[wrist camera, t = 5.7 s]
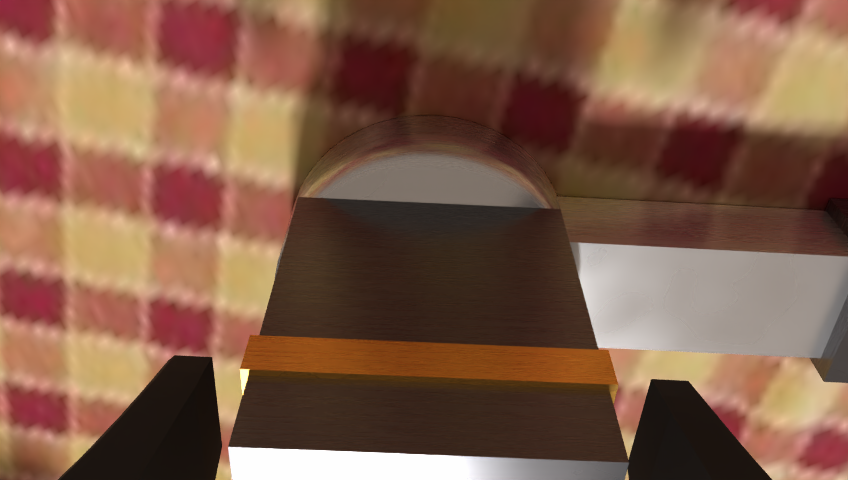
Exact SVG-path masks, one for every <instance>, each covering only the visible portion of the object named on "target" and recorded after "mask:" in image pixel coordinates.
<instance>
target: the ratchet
mask: <svg viewBox="0 0 848 480" xmlns="http://www.w3.org/2000/svg"><path fill="white" fill-rule="evenodd" d="M298 197H312V198H334V199H356V200H377V201H399V202H421V203H443V204H464V205H486V206H508V207H530V208H552V209H561V212H562V216H563V220H564V223H565V227H566V231H567V234H568V238H569V242H570V246H571V249H572V253H573V257H574V260H575V264H576V268H577V272H578V275H579V279H580V283H581V286H582V290H583V294H584V297H585V301H586V305H587V309H588V312H589V316H590V320H591V323H592V327H593V331H594V334H595V338H596V342H597V346H598V348H619V349H639V350H660V351H681V352H701V353H722V354H743V355H764V356H784V357H805V358H810V359H811V361H812V363H813V364H814V366H815V368H816V369H817V371H818V373H819V374H820V376H821V378H822V380H823V381H824V382H842V383H848V199H831V198H830V200H829V203H828V205H827V208H826V211H825V210H806V209H787V208H768V207H749V206H730V205H712V204H693V203H674V202H655V201H636V200H617V199H599V198H580V197H561V196H557V195H556V192H555V190H554V187H553V186H552V184H551V182H550V180H549V179H548V177H547V175H546V173H545V172H544V171H543V170H542V168H541V167H540V166H539V165H538V163H537V162H536V161H535V160H534V159H533V158H532V157H531V156H530V155H529V154H528V153H527V152H526V151H525V150H524V149H523V148H521V147H520V146H519V145H517V144H516V143H514V142H513V141H512V140H510V139H509V138H507V137H505V136H504V135H502V134H500V133H498V132H496V131H494V130H492V129H490V128H487V127H485V126H482V125H479V124H477V123H474V122H470V121H466V120H462V119H458V118H452V117H444V116H410V117H402V118H395V119H391V120H388V121H384V122H380V123H377V124H374V125H372V126H369V127H366V128H364V129H361V130H359V131H358V132H356V133H354V134H352V135H350V136H348V137H347V138H345V139H343V140H342V141H341V142H339V143H338V144H337V145H335V146H334V147H333V148H331V149H330V150H329V151H328V152H327V153H326V154H325V155H324V156H323V157H322V158H321V159H320V160H319V161H318V162H317V163H316V164H315V166H314V167H313V168H312V170H311V171H310V172H309V174H308V175H307V177H306V178H305V180H304V182H303V184H302V186H301V188H300V190H299V192H298V195H297V198H296V201H295V203H294V207H293V210H292V214H291V217H290V221H289V224H288V228H287V231H286V235H285V238H284V242H283V245H282V249H281V253H280V256H279V260H278V264H277V269H276V274H277V270H278V267H279V263H280V260H281V256H282V252H283V249H284V245H285V242H286V238H287V235H288V231H289V227H290V224H291V220H292V217H293V213H294V210H295V206H296V202H297V199H298ZM276 274H275V278H276Z"/></svg>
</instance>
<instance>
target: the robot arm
mask: <svg viewBox="0 0 848 480" xmlns="http://www.w3.org/2000/svg"><path fill="white" fill-rule="evenodd" d="M221 449H222V441H221V432H220V423H219V414H218V405H217V397H216V388H215V379H214V370H213V361H212V357H196V356H176V355H175V356H173V357H172V358H171V359H170V360H168V361H167V363H166V364H165V365H164V366H163V367H162V369H161V370H160V371H159V372H158V373H157V374H156V376H155V377H154V378H153V379H152V380H151V382H150V383H149V384H148V385H147V386H146V387H145V389H144V390H143V391H142V392H141V393H140V394H139V395H138V397H137V398H136V399H135V400H134V401H133V402H132V403H131V404H130V406H129V407H128V408H127V409H126V410H125V411H124V412H123V413H122V415H121V416H120V417H119V418H118V419H117V420H116V421H115V422H114V423H113V424H112V425H111V426H110V427H109V428H108V430H107V431H106V432H105V433H104V434H103V435H102V436H101V437H100V438H99V439H98V440H97V441H96V442H95V443H94V444H93V445H92V447H91V448H90V449H89V450H88V451H87V452H86V453H85V454H84V455H83V456H82V457H81V458H80V459H79V460H78V461H77V462H76V463H75V464H74V465H72V466H71V467H70V468H69V469H68V470H67V471H66V472H65V473H64V474H63V475H62V476H61V477H60V478H59V479H58V480H215V478H216V473H217V468H218V463H219V459H220V454H221ZM628 475H629V480H772V479H771V478H770V477H769V476H768V474H767V473H766V472H765V471H764V470H763V469H762V468H761V467H760V465H759V464H758V463H757V462H756V461H755V460H754V459H753V458H752V456H751V455H750V454H749V453H748V452H747V451H746V449H745V448H744V447H743V446H742V445H741V444H740V442H739V441H738V440H737V439H736V438H735V436H734V435H733V434H732V433H731V432H730V431H729V429H728V428H727V427H726V426H725V425H724V423H723V422H722V421H721V420H720V419H719V417H718V416H717V415H716V414H715V412H714V411H713V410H712V409H711V408H710V406H709V405H708V404H707V403H706V402H705V400H704V399H703V398H702V397H701V396H700V394H699V393H698V392H697V391H696V390H695V389H694V387H693V386H692V385H691V384H690V383H689V381H678V380H657V379H651V382H650V386H649V389H648V393H647V396H646V400H645V404H644V407H643V411H642V414H641V418H640V421H639V425H638V428H637V432H636V435H635V439H634V443H633V446H632V450H631V453H630V457H629V465H628Z"/></svg>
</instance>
